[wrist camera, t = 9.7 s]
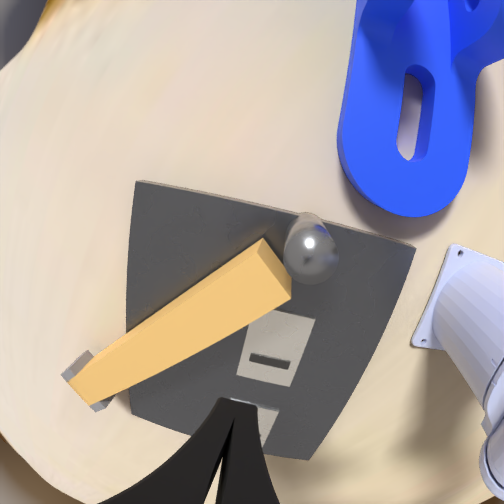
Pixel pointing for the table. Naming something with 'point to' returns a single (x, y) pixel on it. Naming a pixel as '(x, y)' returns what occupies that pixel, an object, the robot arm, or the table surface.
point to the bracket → (433, 101)
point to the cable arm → (185, 325)
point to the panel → (269, 325)
